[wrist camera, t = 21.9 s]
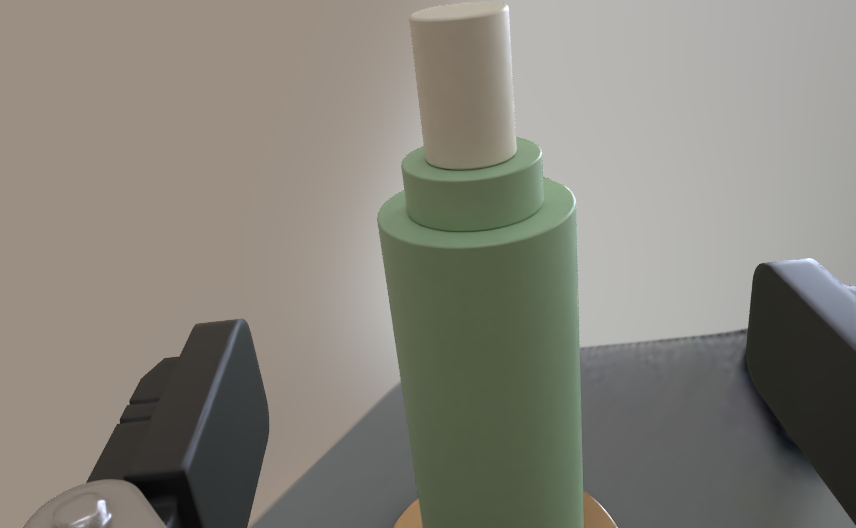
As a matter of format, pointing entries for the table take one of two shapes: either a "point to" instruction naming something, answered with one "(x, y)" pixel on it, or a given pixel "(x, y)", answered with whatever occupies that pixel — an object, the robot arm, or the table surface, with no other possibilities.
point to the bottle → (483, 292)
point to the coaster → (595, 516)
